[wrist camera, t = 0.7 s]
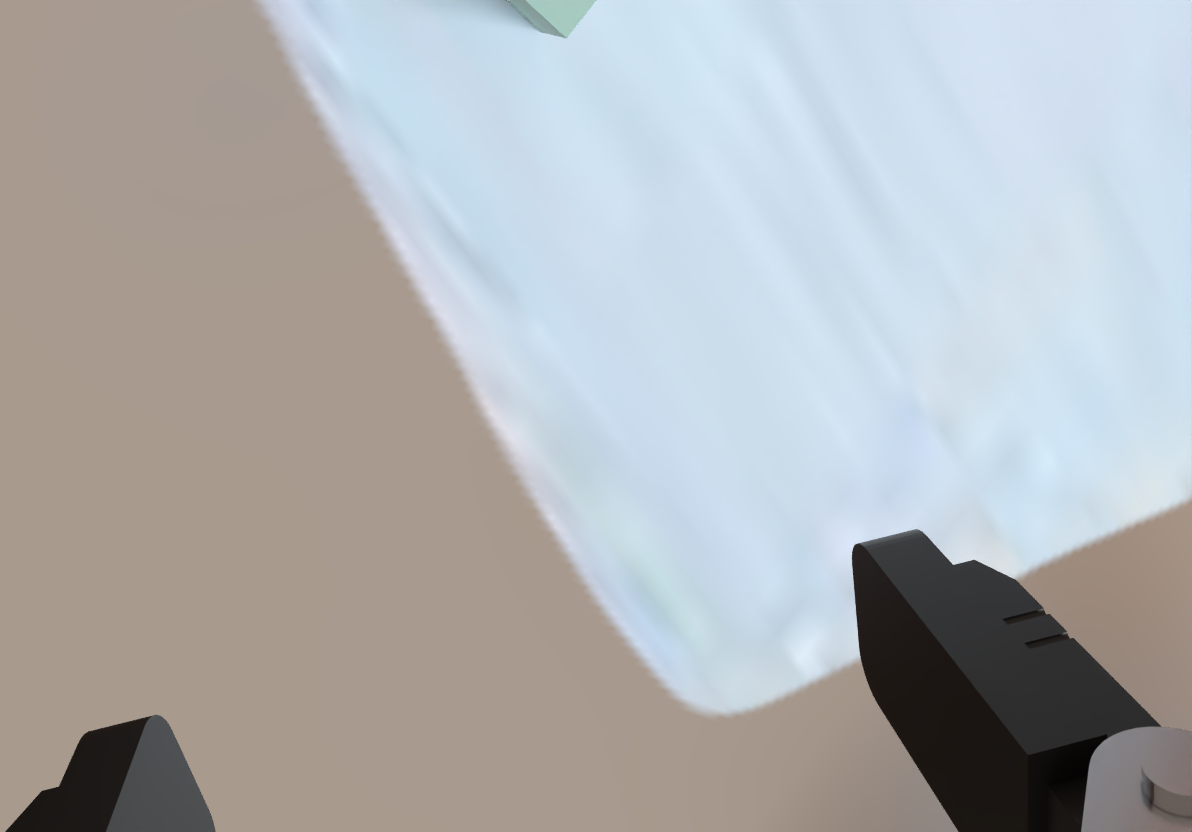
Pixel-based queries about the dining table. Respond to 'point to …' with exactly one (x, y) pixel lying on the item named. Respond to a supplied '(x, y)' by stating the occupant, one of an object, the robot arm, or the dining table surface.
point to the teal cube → (553, 14)
